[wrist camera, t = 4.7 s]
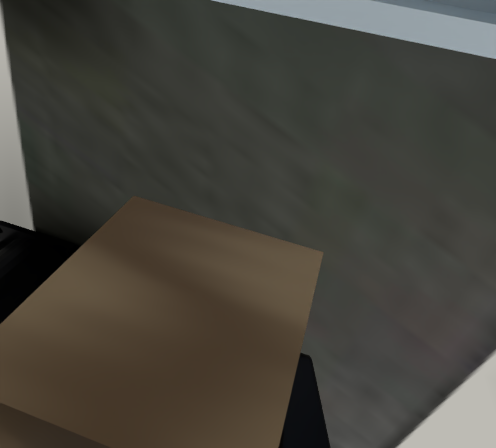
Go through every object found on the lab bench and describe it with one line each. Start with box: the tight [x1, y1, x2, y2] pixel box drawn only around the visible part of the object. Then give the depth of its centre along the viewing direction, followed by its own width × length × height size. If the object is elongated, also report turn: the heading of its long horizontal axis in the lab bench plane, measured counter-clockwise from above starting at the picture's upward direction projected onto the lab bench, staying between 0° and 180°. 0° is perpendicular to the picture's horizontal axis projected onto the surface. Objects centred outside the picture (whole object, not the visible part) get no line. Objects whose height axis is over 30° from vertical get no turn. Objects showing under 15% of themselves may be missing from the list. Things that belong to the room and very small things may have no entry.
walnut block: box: [0, 196, 323, 448], centre depth 8 cm, size 4×4×5 cm
